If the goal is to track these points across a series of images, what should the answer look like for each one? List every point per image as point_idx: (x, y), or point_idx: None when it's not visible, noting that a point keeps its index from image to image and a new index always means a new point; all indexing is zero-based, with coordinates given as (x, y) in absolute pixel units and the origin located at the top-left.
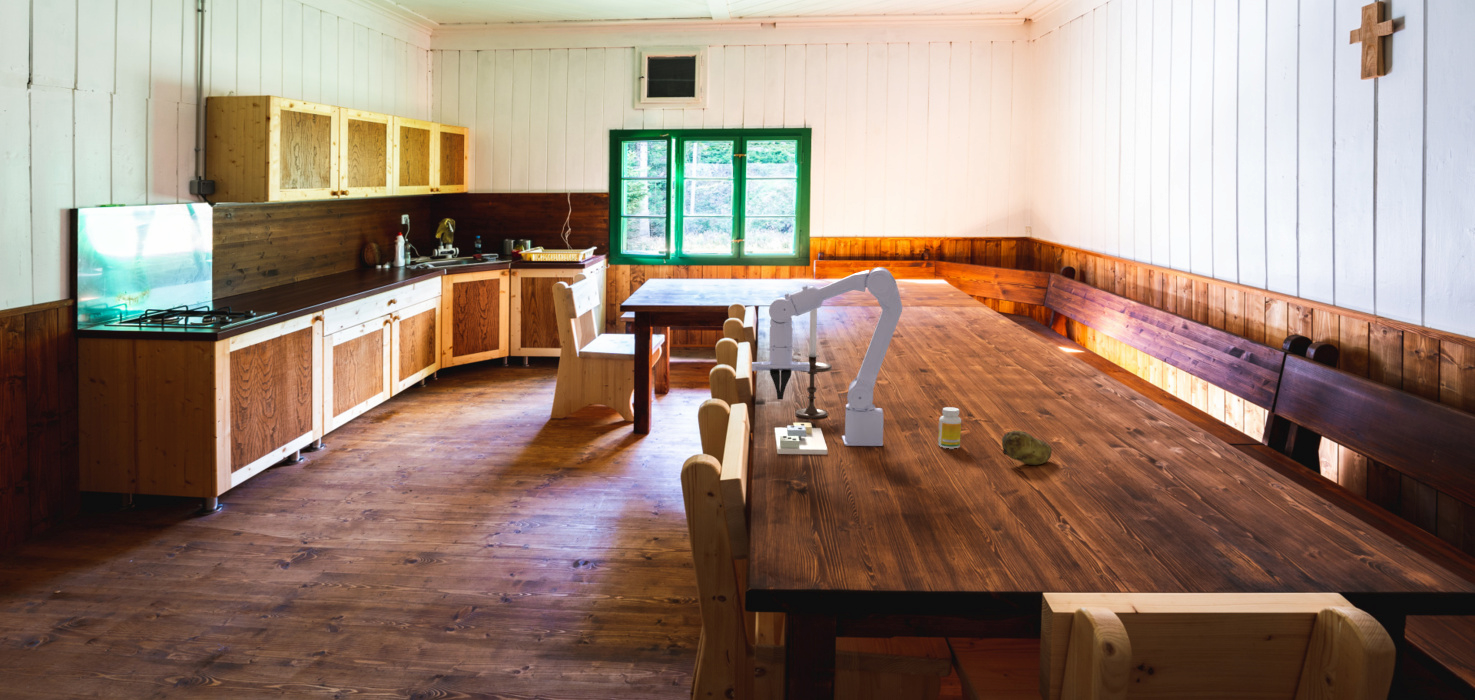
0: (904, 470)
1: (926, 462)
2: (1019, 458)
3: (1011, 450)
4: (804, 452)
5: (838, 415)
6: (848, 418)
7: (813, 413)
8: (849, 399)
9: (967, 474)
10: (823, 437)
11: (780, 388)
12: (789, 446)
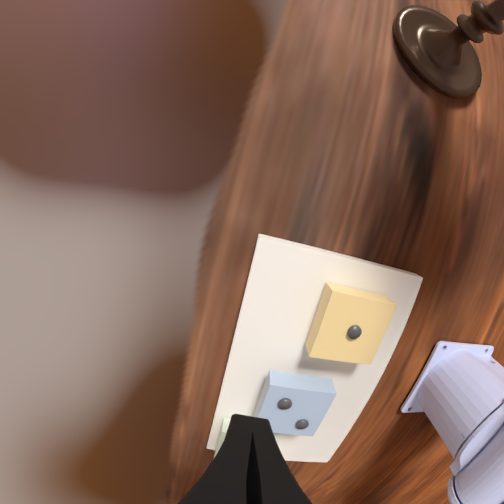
0: (391, 493)
1: (443, 463)
2: None
3: None
4: None
5: (497, 93)
6: (444, 437)
7: (448, 65)
8: (449, 500)
9: (441, 486)
10: (376, 384)
11: (254, 462)
12: None
